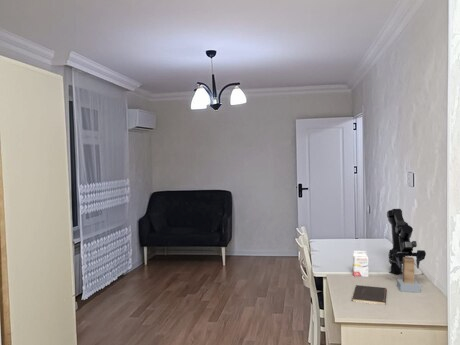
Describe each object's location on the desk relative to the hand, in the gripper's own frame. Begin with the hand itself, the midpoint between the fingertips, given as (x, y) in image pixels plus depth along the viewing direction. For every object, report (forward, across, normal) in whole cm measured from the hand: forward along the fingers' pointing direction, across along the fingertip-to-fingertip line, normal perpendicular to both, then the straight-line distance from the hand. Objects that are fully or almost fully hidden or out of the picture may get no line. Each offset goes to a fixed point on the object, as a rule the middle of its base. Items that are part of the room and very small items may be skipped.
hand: (409, 268), depth 248 cm
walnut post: (+5, 0, +7) cm, 8 cm away
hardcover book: (+18, -22, 0) cm, 29 cm away
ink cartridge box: (-9, -22, +27) cm, 36 cm away
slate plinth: (+8, 0, +10) cm, 12 cm away
